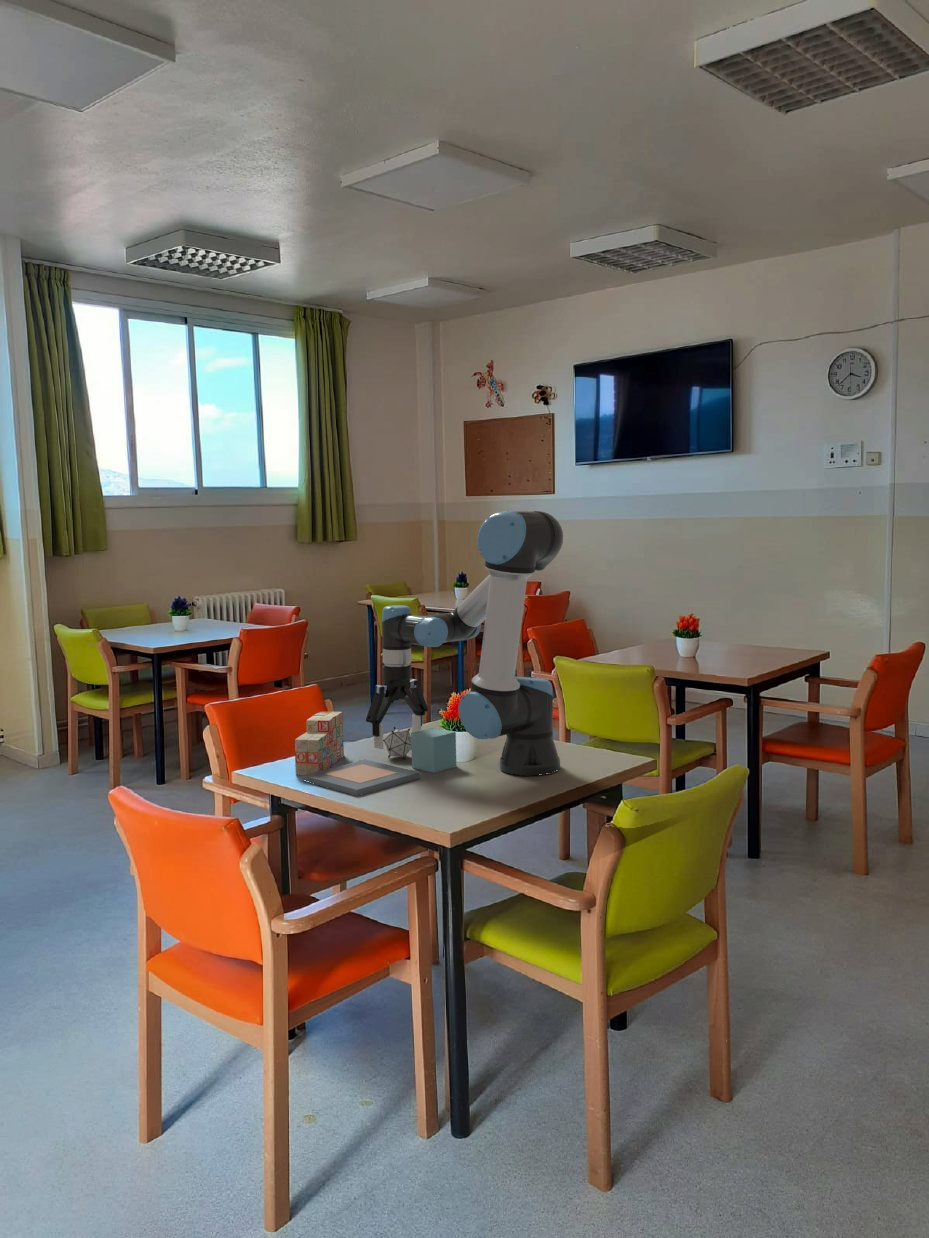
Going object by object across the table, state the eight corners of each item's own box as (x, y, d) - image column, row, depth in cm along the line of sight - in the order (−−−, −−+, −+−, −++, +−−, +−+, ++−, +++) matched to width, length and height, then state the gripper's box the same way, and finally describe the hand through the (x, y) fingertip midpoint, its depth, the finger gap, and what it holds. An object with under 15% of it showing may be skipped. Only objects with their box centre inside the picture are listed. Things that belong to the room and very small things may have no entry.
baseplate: (419, 778, 234) (419, 771, 234) (356, 796, 219) (356, 789, 219) (365, 765, 247) (365, 759, 247) (303, 781, 233) (302, 774, 233)
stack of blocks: (319, 776, 237) (317, 727, 236) (295, 776, 239) (293, 727, 237) (344, 755, 258) (342, 710, 257) (321, 755, 260) (320, 710, 258)
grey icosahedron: (394, 770, 256) (384, 736, 261) (423, 758, 256) (413, 725, 260) (384, 761, 248) (374, 726, 253) (414, 749, 248) (404, 715, 252)
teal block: (456, 766, 245) (455, 731, 244) (434, 772, 239) (433, 737, 238) (434, 761, 250) (433, 727, 249) (411, 767, 244) (411, 733, 243)
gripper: (421, 657, 264) (421, 733, 266) (351, 668, 246) (352, 749, 248) (440, 660, 259) (441, 737, 261) (370, 671, 241) (372, 754, 243)
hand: (398, 743), depth 255 cm, fingers open, 13 cm apart
